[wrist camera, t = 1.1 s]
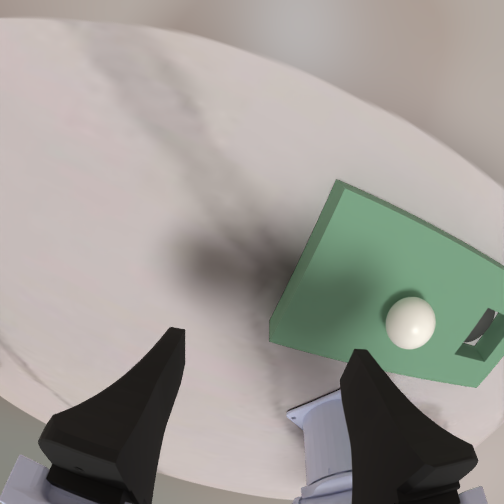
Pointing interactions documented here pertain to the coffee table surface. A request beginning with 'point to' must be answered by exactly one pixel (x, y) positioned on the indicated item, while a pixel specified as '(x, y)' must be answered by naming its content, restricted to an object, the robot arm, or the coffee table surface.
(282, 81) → the coffee table surface
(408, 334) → the ball
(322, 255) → the putting mat
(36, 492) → the robot arm
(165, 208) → the coffee table surface
